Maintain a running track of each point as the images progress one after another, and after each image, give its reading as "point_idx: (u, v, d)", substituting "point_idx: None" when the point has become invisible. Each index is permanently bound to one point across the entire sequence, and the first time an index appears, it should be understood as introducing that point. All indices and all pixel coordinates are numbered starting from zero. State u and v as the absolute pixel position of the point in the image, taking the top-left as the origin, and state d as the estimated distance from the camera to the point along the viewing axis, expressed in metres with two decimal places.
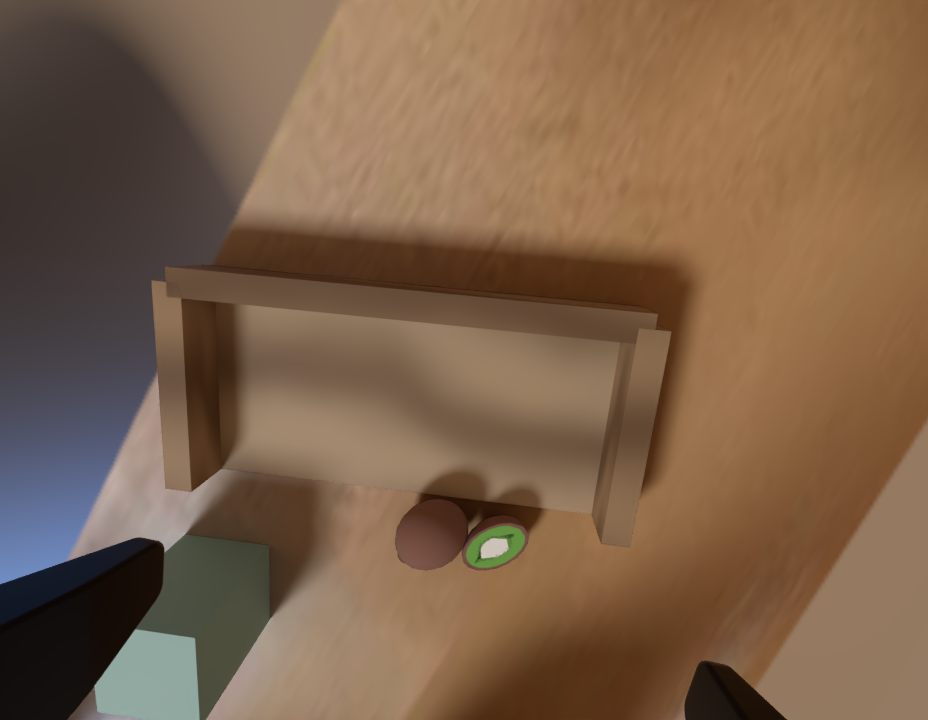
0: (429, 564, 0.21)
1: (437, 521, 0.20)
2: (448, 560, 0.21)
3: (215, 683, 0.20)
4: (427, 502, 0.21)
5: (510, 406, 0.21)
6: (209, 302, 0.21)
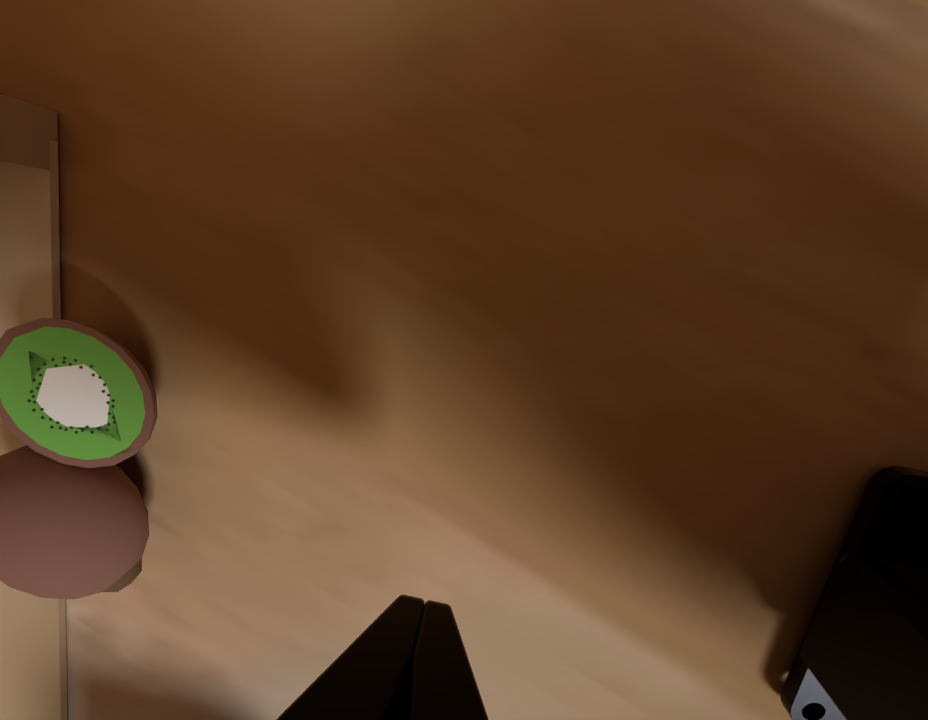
0: (45, 552, 0.09)
1: None
2: (51, 507, 0.09)
3: None
4: None
5: None
6: None
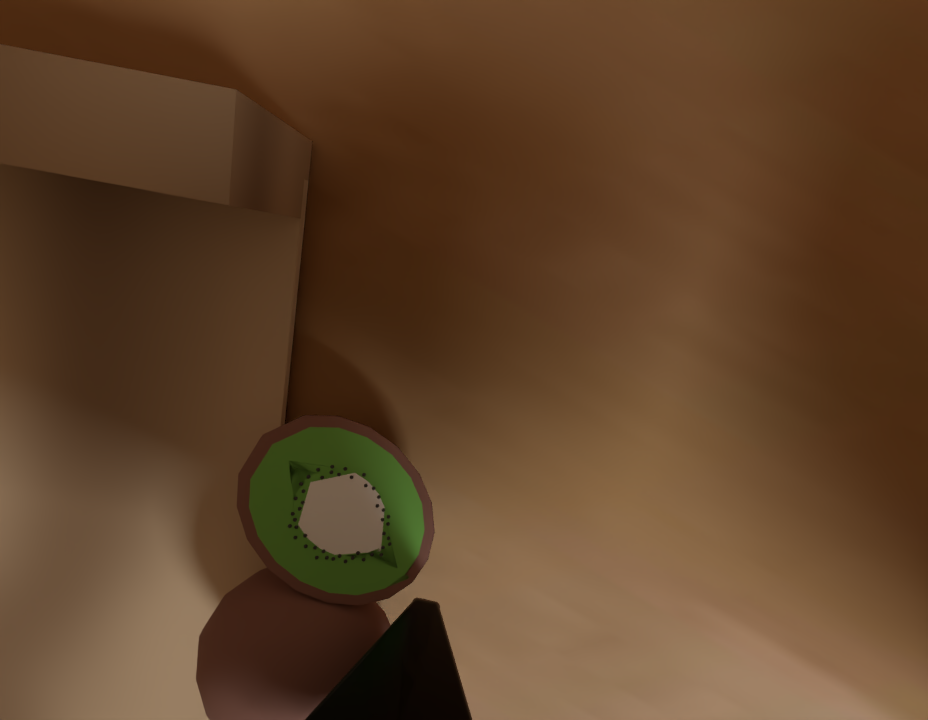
0: None
1: (203, 685, 0.07)
2: (333, 668, 0.07)
3: None
4: None
5: (6, 417, 0.08)
6: None
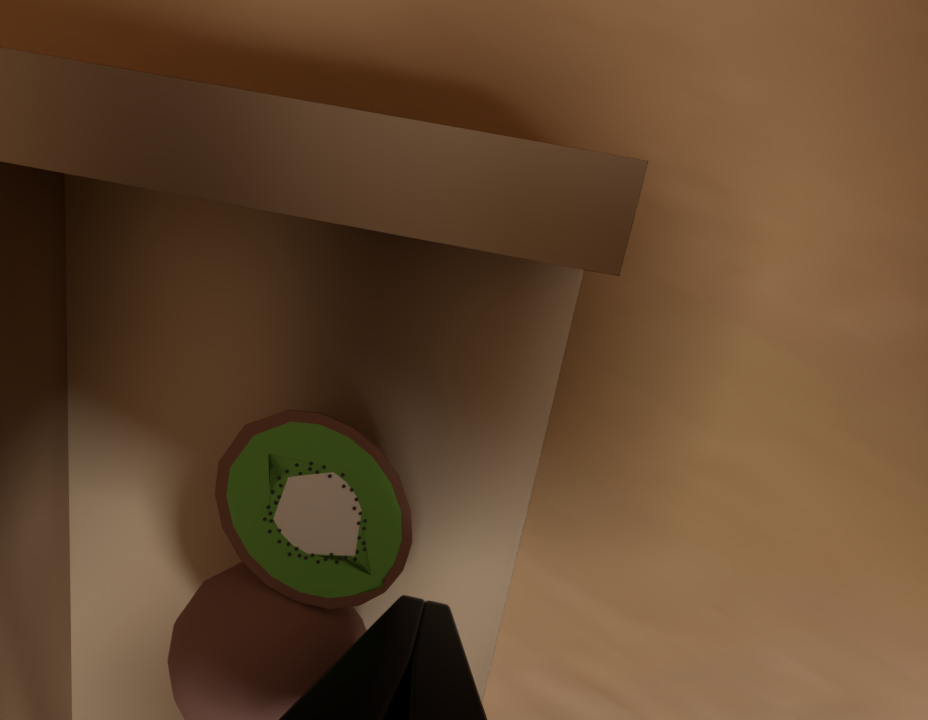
0: None
1: (171, 668, 0.07)
2: (293, 670, 0.07)
3: None
4: None
5: None
6: None
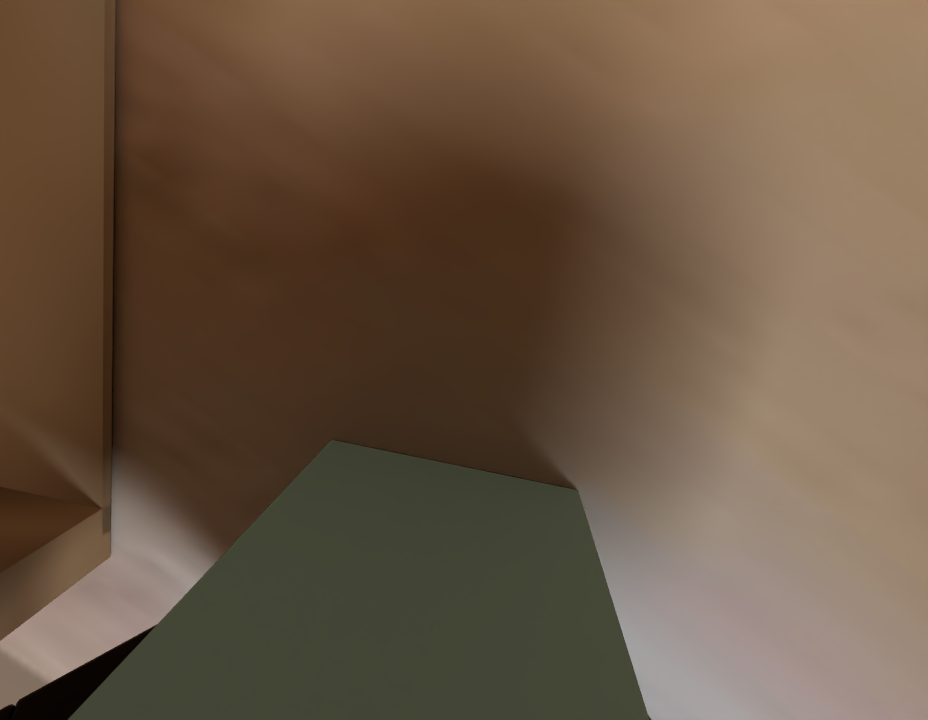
0: None
1: None
2: None
3: None
4: None
5: None
6: None
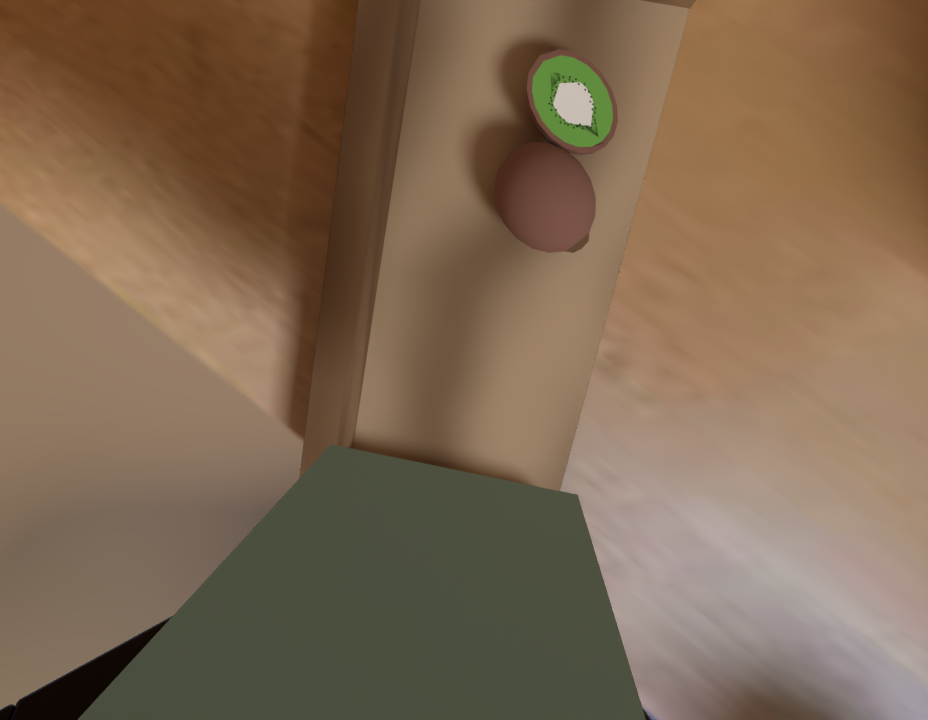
0: (569, 193, 0.14)
1: (506, 178, 0.15)
2: (571, 166, 0.14)
3: None
4: (496, 200, 0.16)
5: (511, 125, 0.16)
6: None
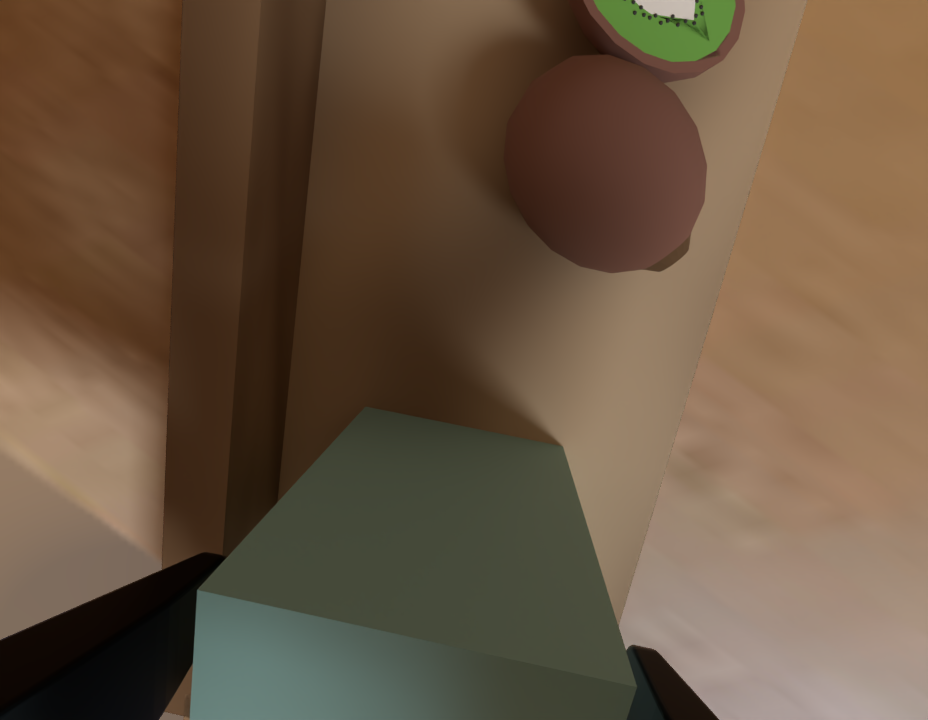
0: (666, 151, 0.07)
1: (529, 128, 0.07)
2: (665, 96, 0.07)
3: (525, 585, 0.06)
4: None
5: (519, 52, 0.09)
6: None
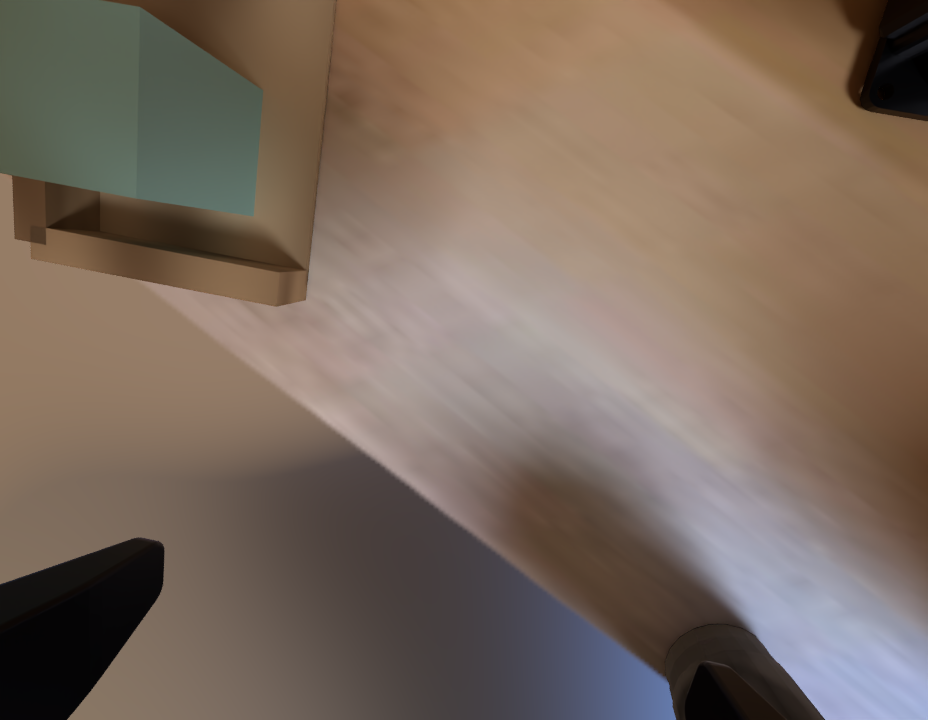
0: None
1: None
2: None
3: None
4: None
5: None
6: (99, 232, 0.19)
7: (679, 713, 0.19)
